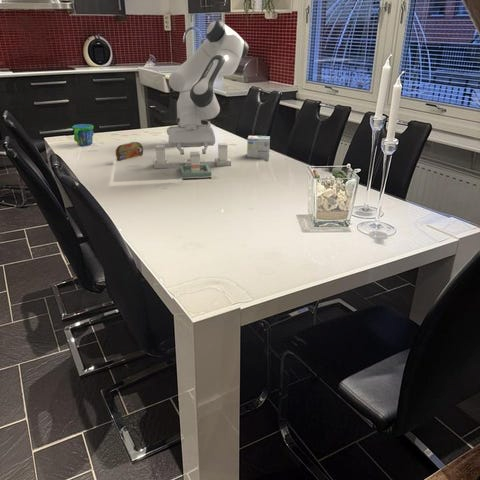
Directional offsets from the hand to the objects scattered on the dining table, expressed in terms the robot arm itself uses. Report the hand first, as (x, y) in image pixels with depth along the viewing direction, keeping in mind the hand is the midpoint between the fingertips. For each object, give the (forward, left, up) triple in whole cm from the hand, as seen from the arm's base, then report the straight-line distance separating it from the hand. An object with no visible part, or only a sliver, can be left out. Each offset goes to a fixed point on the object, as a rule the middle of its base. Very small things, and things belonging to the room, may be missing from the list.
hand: (193, 153), depth 199 cm
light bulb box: (-39, +9, -9) cm, 41 cm away
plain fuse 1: (+3, -17, -8) cm, 18 cm away
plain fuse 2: (-17, +3, -8) cm, 19 cm away
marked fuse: (+1, +2, -8) cm, 8 cm away
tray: (+1, +2, -9) cm, 9 cm away
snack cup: (-9, -82, -9) cm, 83 cm away
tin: (0, -39, -9) cm, 40 cm away
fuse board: (-7, -7, -9) cm, 13 cm away
